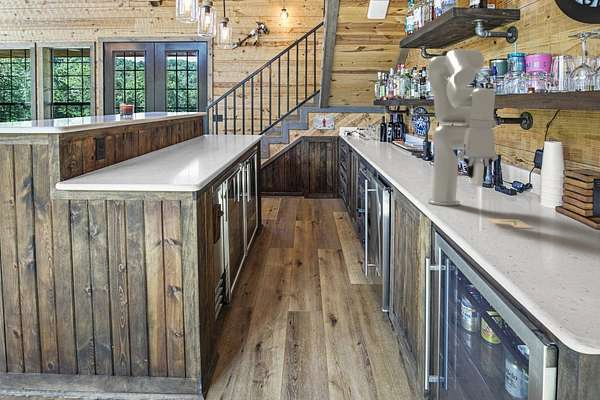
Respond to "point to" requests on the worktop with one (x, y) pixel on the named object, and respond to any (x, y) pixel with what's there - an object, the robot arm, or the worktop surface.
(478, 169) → the eye dropper bottle
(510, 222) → the card
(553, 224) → the worktop surface
